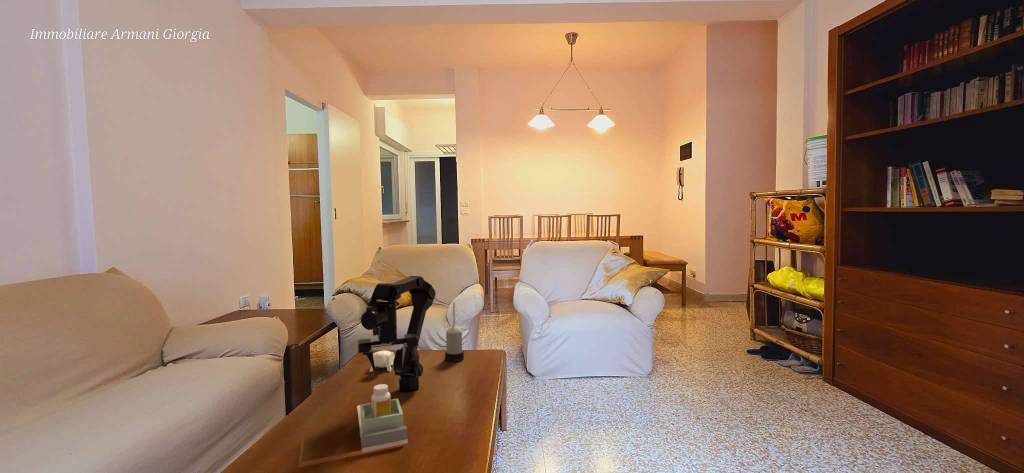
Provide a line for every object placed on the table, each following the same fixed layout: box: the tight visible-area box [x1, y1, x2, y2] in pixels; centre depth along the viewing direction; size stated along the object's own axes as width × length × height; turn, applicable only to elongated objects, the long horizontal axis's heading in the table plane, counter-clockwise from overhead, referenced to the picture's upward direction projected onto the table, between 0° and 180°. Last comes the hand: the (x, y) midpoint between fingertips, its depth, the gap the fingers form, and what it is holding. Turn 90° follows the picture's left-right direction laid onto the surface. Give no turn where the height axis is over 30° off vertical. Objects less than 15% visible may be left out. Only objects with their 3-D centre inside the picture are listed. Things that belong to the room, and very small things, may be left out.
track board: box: [356, 404, 408, 454], centre depth 132 cm, size 12×28×4 cm, turn 22°
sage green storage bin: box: [359, 398, 404, 433], centre depth 128 cm, size 11×11×6 cm
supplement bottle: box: [370, 383, 392, 418], centre depth 128 cm, size 5×5×10 cm
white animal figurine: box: [369, 350, 395, 373], centre depth 178 cm, size 9×8×15 cm
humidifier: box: [444, 302, 465, 363], centre depth 189 cm, size 8×8×25 cm
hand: (388, 368), depth 143 cm, fingers open, 9 cm apart
